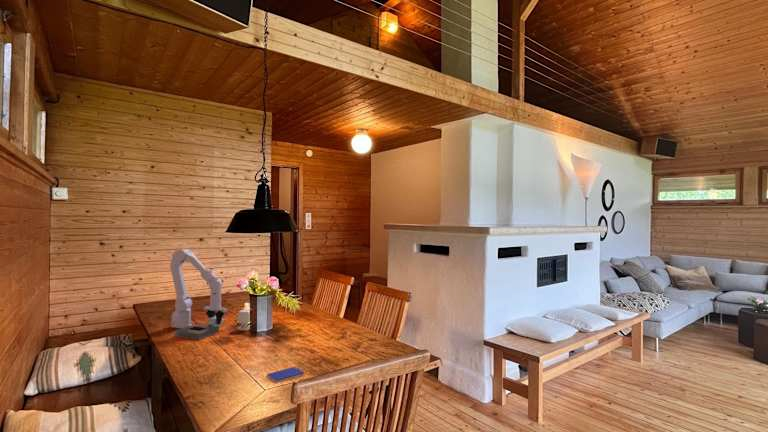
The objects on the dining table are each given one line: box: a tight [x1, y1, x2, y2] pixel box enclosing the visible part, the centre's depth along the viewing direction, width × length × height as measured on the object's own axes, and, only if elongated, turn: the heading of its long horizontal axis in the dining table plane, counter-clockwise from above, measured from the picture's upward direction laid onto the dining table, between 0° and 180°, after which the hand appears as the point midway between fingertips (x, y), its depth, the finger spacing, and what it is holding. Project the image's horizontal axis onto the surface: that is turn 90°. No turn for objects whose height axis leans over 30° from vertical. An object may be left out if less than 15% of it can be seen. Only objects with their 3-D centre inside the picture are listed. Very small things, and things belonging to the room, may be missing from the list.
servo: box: [204, 315, 226, 328], centre depth 226 cm, size 11×4×6 cm, turn 162°
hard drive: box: [266, 366, 305, 383], centre depth 159 cm, size 2×8×12 cm
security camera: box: [236, 308, 251, 331], centre depth 223 cm, size 6×7×10 cm
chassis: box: [174, 323, 220, 341], centre depth 210 cm, size 16×14×3 cm
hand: (215, 323), depth 226 cm, fingers closed on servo, 4 cm apart
